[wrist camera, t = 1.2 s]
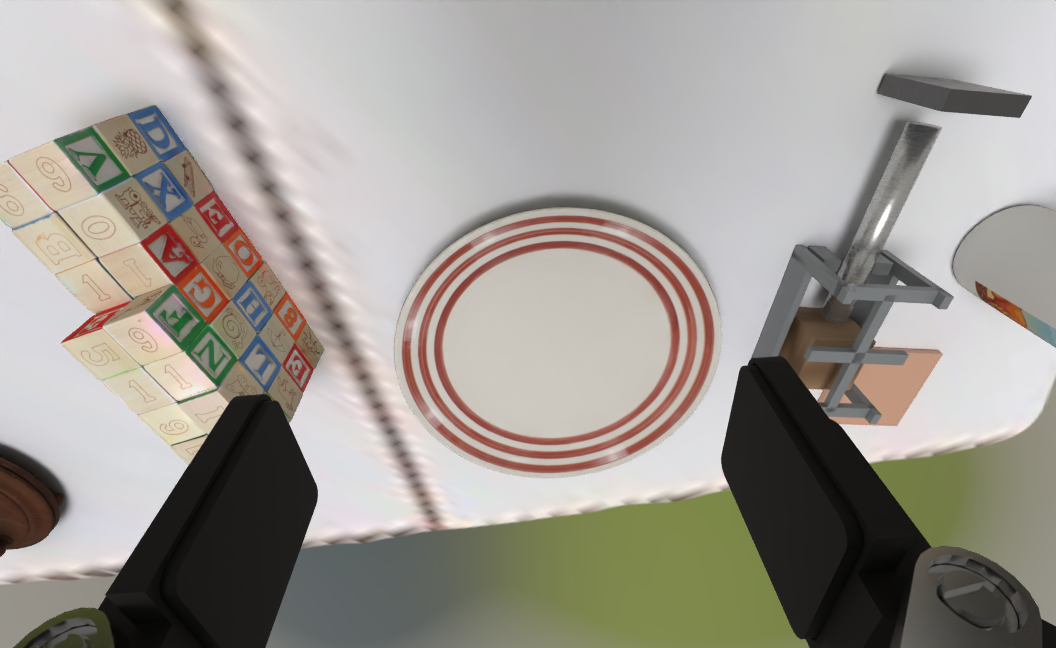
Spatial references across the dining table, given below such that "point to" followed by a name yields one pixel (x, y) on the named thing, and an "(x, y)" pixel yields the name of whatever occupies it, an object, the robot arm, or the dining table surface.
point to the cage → (866, 313)
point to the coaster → (891, 386)
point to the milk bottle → (1014, 266)
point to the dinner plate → (557, 342)
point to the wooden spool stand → (24, 508)
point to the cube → (820, 333)
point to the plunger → (911, 165)
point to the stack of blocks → (157, 276)
